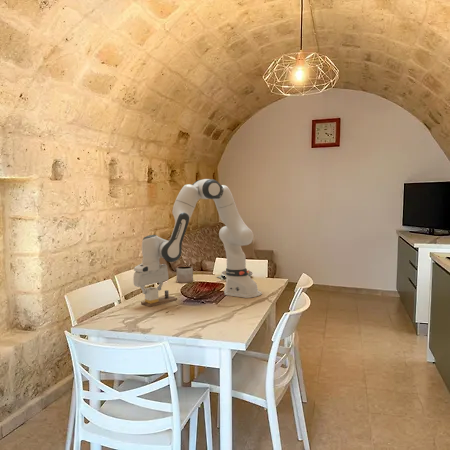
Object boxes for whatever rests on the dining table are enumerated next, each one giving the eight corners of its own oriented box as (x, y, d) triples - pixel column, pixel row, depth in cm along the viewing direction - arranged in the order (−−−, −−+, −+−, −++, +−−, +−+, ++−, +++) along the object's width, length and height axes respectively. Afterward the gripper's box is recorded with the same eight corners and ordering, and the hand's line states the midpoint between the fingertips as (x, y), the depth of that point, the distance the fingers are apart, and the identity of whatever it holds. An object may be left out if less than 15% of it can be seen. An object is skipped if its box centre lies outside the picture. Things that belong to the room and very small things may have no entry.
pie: (230, 273, 296) (230, 266, 296) (264, 276, 282) (264, 269, 282) (209, 280, 272) (209, 272, 272) (245, 284, 258) (245, 277, 258)
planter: (196, 280, 268) (196, 266, 268) (186, 284, 259) (186, 269, 259) (183, 279, 274) (183, 265, 274) (173, 282, 265) (172, 267, 264)
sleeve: (158, 301, 212) (158, 288, 212) (150, 303, 209) (150, 290, 208) (152, 299, 216) (152, 287, 215) (145, 301, 212) (144, 288, 212)
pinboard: (177, 299, 219) (176, 290, 219) (150, 306, 206) (149, 296, 206) (168, 297, 225) (167, 288, 225) (141, 304, 212) (140, 294, 212)
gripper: (163, 262, 220) (164, 287, 222) (131, 268, 206) (132, 294, 207) (170, 263, 216) (171, 289, 217) (138, 269, 201) (139, 296, 203)
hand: (152, 291), depth 212 cm, fingers open, 8 cm apart
